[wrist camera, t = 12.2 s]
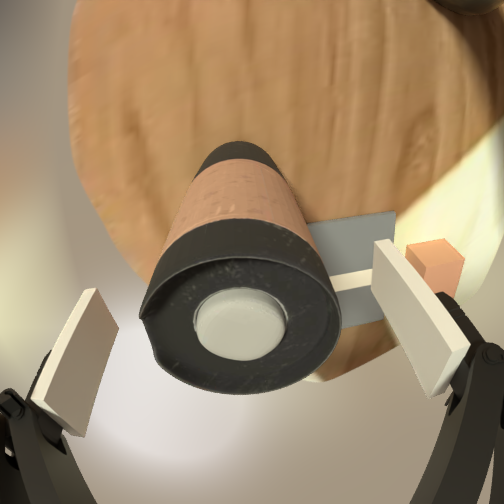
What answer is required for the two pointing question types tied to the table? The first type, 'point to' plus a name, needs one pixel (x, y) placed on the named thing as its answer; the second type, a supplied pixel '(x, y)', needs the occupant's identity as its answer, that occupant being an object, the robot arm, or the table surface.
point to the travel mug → (240, 282)
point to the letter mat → (353, 261)
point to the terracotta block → (437, 264)
